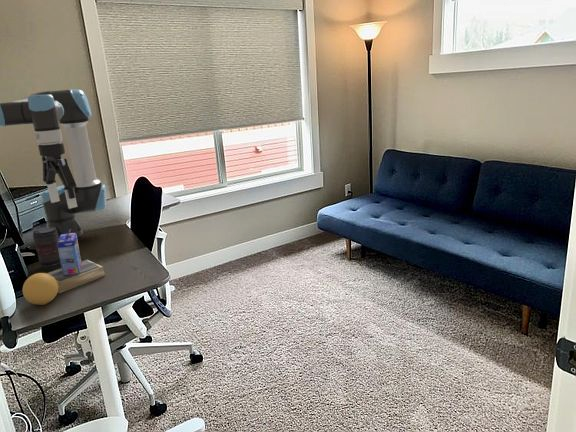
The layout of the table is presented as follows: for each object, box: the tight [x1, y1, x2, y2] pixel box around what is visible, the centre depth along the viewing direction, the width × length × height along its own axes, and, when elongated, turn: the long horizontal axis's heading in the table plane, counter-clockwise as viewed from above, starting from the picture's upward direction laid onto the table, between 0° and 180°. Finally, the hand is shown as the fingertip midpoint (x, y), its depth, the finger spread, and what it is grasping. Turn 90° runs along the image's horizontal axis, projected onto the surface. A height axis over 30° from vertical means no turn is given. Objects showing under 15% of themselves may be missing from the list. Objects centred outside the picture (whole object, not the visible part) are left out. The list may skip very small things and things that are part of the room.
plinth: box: [47, 259, 106, 294], centre depth 155 cm, size 12×16×4 cm
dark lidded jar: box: [32, 226, 62, 270], centre depth 168 cm, size 8×8×15 cm
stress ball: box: [22, 272, 59, 306], centre depth 139 cm, size 10×10×10 cm
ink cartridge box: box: [57, 229, 82, 276], centre depth 153 cm, size 10×6×14 cm, turn 20°
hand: (64, 204), depth 152 cm, fingers open, 13 cm apart
